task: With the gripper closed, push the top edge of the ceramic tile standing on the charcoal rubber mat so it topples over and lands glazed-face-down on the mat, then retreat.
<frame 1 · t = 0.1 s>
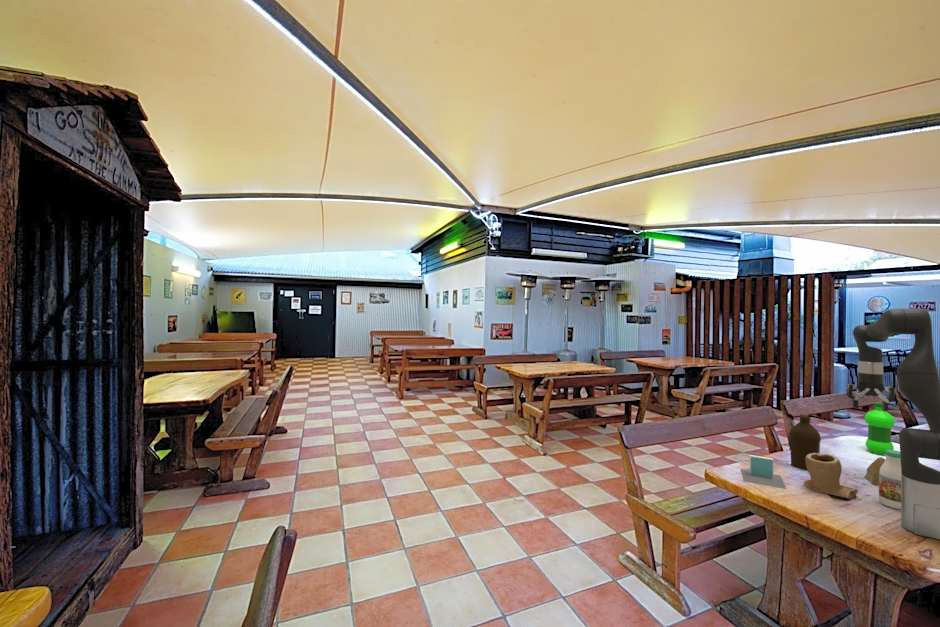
hand: (870, 409, 163), 29 cm above the table, fingers open, 8 cm apart
olive oil: (804, 469, 173), on the table
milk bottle: (894, 505, 141), on the table
tan hollow piece: (828, 493, 150), on the table
mat: (762, 481, 161), on the table
tile: (761, 475, 164), point 1 cm above the table, touching mat
plastic bottle: (879, 453, 191), on the table
rock: (873, 481, 161), on the table
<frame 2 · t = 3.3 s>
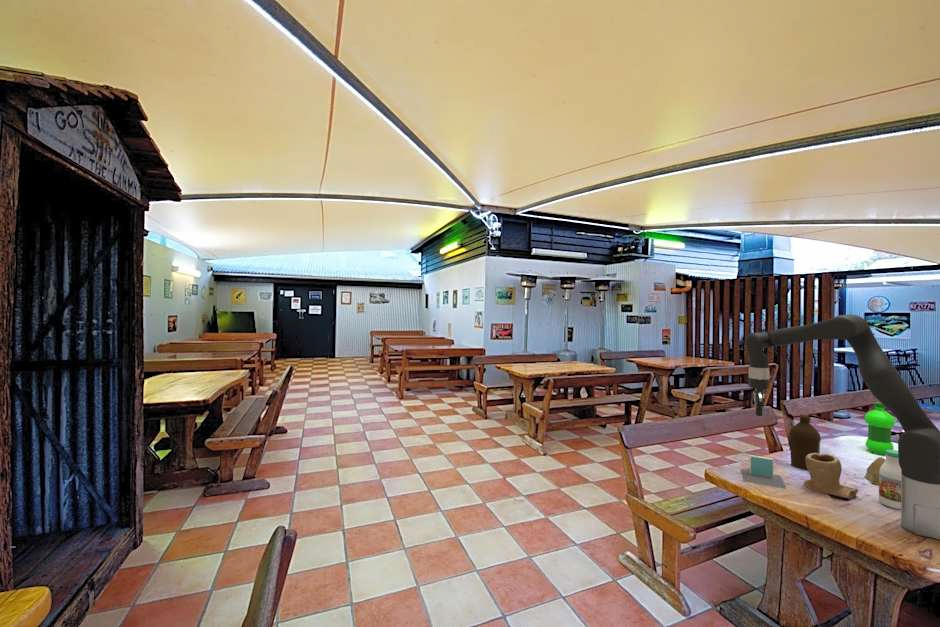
hand: (758, 415, 171), 25 cm above the table, fingers closed
nothing on the table moved.
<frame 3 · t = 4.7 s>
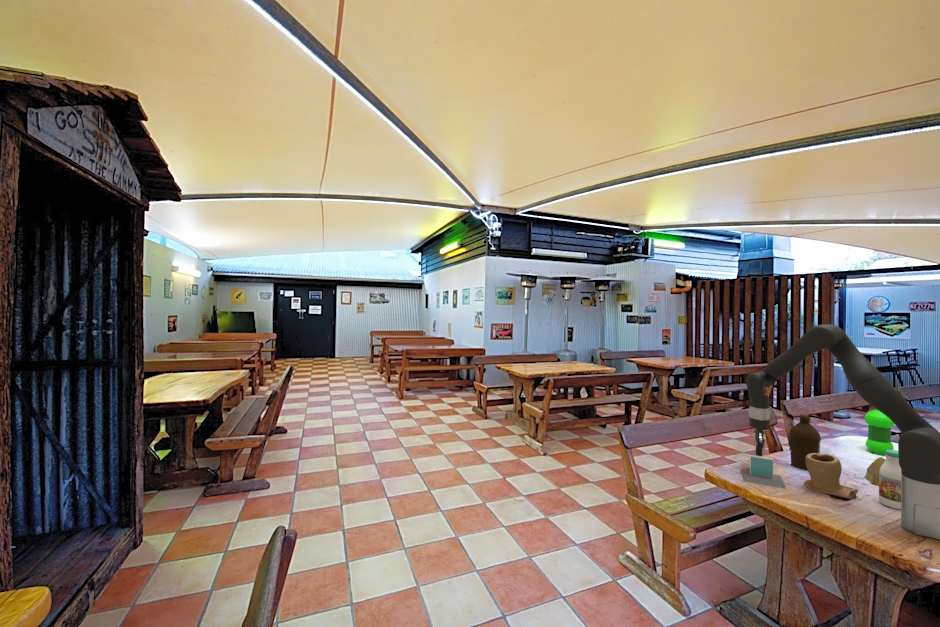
hand: (758, 455, 170), 7 cm above the table, fingers closed
nothing on the table moved.
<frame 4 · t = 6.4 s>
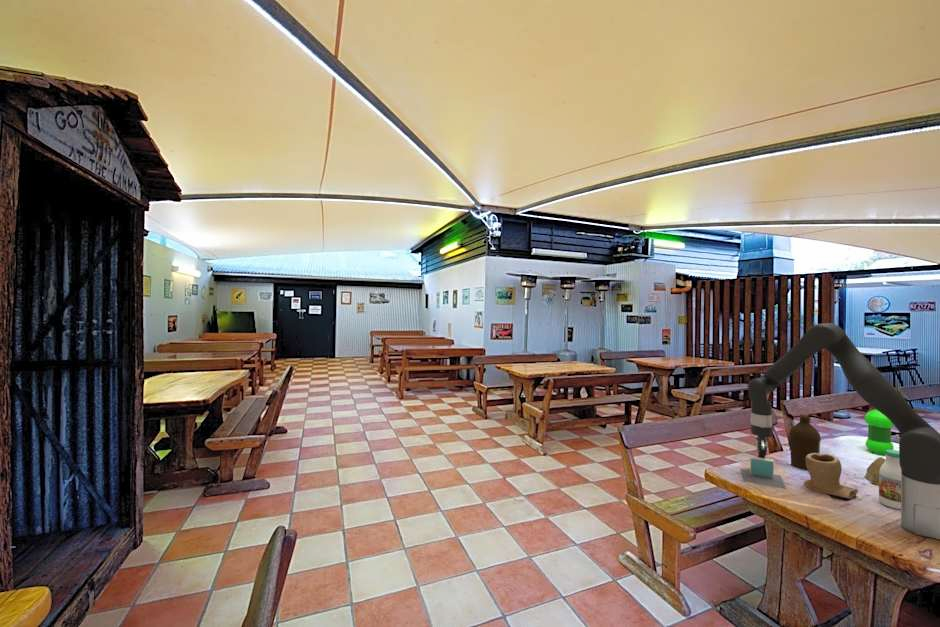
hand: (761, 463, 165), 6 cm above the table, fingers closed
tile: (761, 475, 164), point 1 cm above the table, tilted 13°, touching mat
everything else where it was.
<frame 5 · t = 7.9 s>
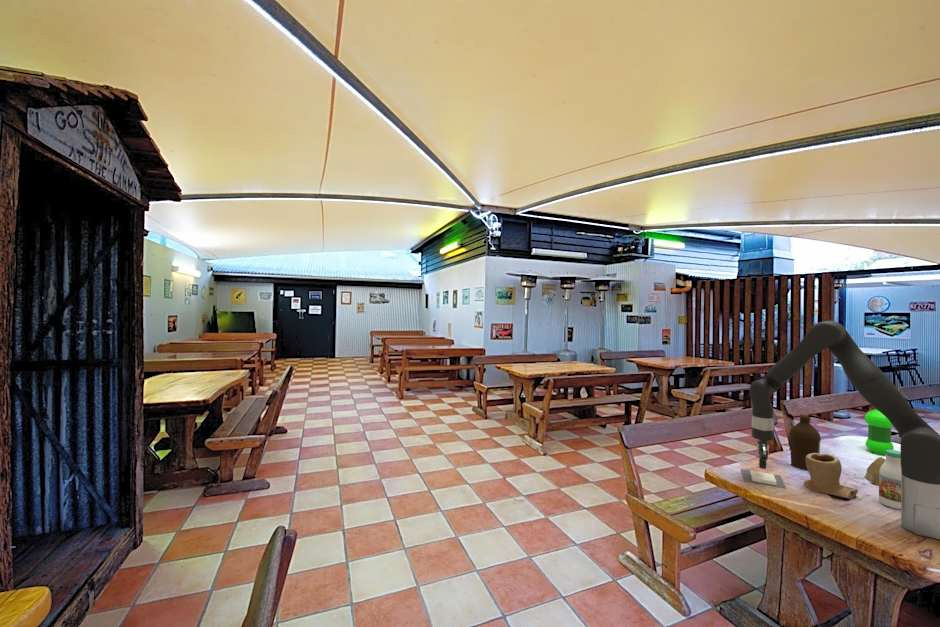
hand: (762, 467, 160), 6 cm above the table, fingers closed
tile: (761, 474, 163), point 2 cm above the table, tilted 90°, touching mat
everything else where it was.
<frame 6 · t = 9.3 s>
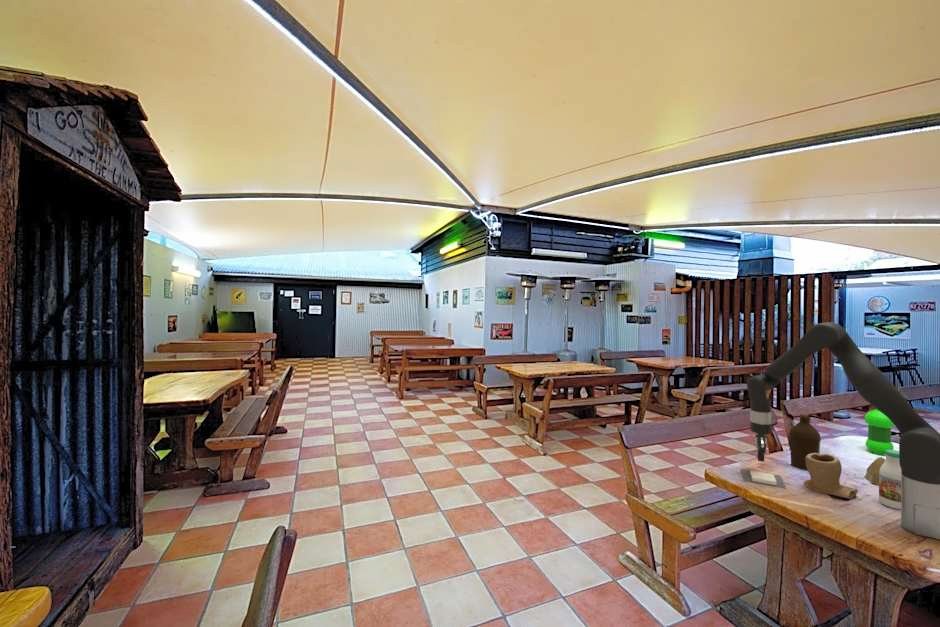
hand: (760, 460, 165), 7 cm above the table, fingers closed
nothing on the table moved.
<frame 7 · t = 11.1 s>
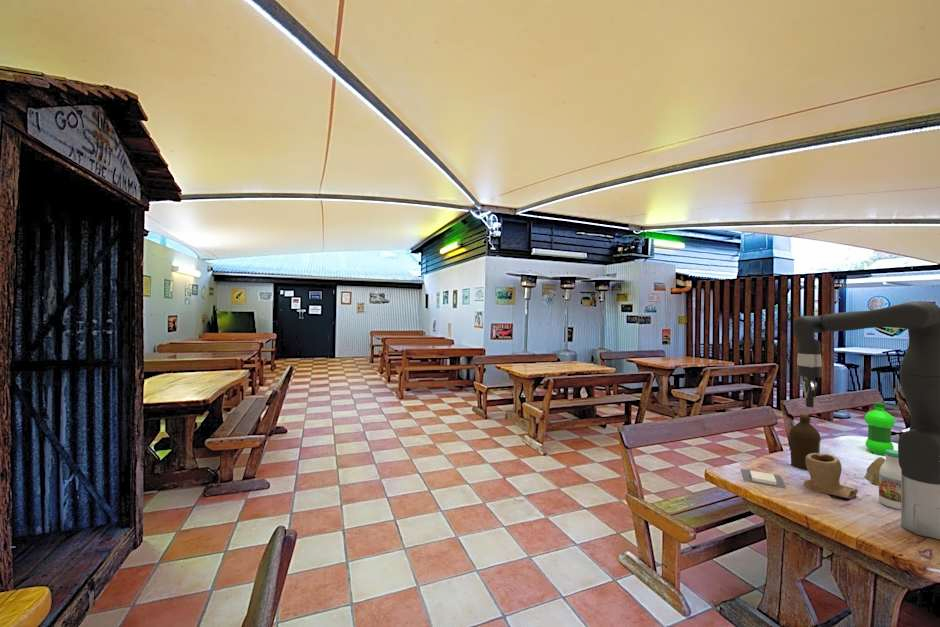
hand: (809, 406, 156), 33 cm above the table, fingers closed
nothing on the table moved.
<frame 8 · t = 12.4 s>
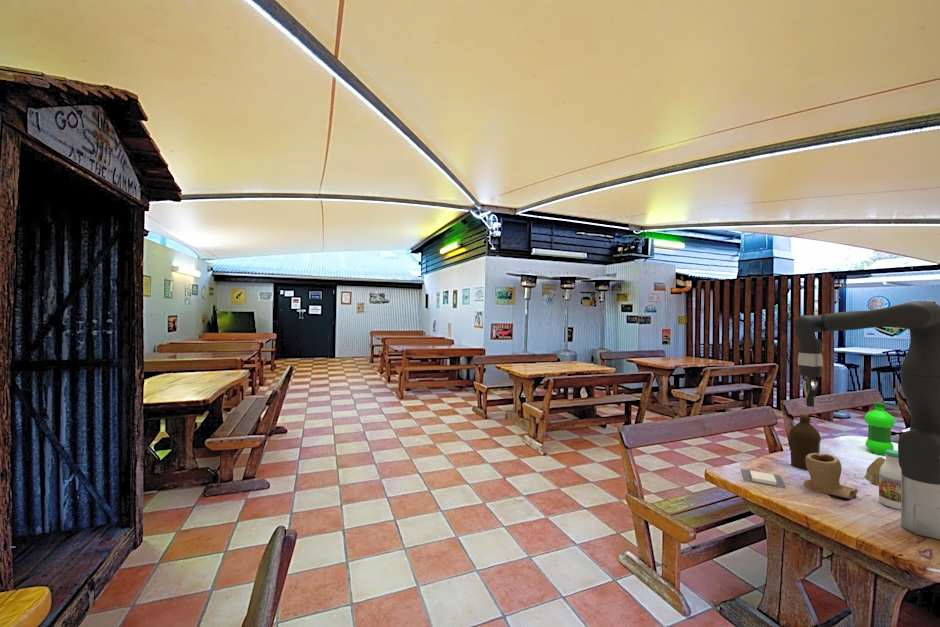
hand: (809, 406, 156), 33 cm above the table, fingers closed
nothing on the table moved.
at the end: tile tilted 90°; tile inside the target area on the mat (2.1 cm from its centre), point 2.2 cm above the mat's base; tile touching mat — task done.
